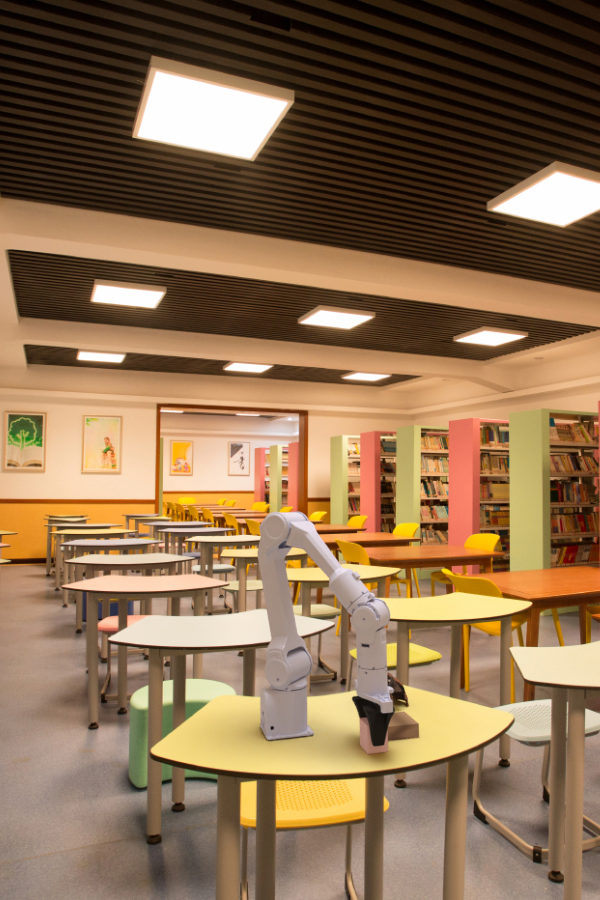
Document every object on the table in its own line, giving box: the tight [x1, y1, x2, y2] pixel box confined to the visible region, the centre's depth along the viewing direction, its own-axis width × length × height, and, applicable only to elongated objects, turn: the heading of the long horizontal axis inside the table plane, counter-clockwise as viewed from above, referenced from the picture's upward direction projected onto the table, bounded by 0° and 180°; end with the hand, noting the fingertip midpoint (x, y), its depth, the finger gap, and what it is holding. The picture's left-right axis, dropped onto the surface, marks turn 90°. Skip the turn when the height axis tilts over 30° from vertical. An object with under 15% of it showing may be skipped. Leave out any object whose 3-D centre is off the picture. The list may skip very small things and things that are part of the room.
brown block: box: [388, 711, 420, 742], centre depth 118 cm, size 7×7×3 cm
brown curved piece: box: [387, 671, 410, 707], centre depth 135 cm, size 12×10×8 cm
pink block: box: [358, 717, 389, 755], centre depth 110 cm, size 4×4×5 cm
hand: (373, 740), depth 110 cm, fingers closed on pink block, 4 cm apart
